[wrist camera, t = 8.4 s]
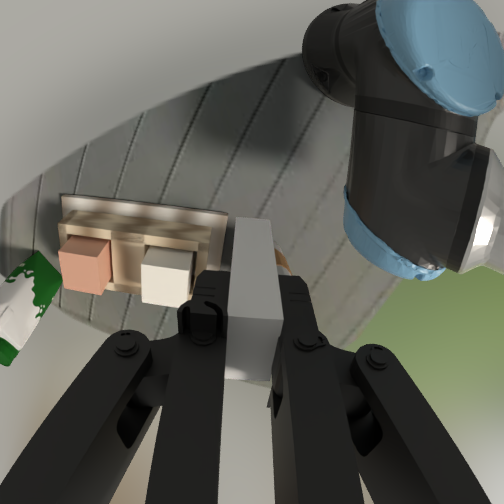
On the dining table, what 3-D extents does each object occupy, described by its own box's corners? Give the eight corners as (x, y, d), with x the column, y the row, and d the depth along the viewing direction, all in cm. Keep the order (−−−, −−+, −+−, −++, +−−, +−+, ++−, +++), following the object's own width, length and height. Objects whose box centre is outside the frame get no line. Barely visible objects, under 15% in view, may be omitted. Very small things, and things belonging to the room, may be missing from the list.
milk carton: (49, 299, 51) (3, 374, 33) (18, 267, 47) (-37, 335, 30) (70, 279, 49) (20, 360, 31) (37, 243, 45) (-26, 314, 27)
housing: (227, 213, 44) (226, 231, 39) (216, 291, 51) (214, 315, 46) (64, 194, 41) (45, 208, 36) (71, 269, 48) (57, 289, 42)
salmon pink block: (114, 232, 42) (97, 257, 36) (116, 267, 45) (101, 295, 38) (79, 228, 41) (58, 251, 35) (82, 262, 44) (64, 288, 38)
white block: (195, 243, 43) (188, 270, 37) (191, 278, 46) (185, 308, 40) (153, 238, 42) (141, 264, 36) (153, 273, 45) (142, 302, 39)
